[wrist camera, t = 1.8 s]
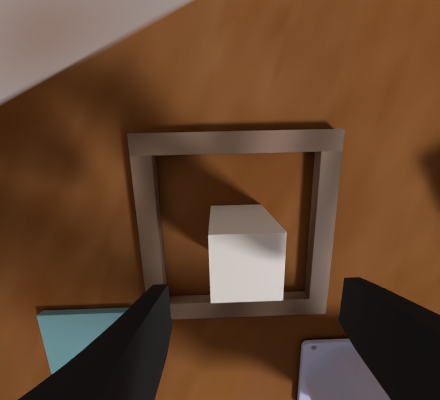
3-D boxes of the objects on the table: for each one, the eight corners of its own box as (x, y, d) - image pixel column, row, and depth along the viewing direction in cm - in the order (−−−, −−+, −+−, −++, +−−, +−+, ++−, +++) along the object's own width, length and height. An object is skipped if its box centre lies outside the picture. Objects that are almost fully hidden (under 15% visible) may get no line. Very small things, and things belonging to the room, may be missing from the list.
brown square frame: (336, 130, 15) (344, 128, 14) (319, 305, 18) (325, 313, 17) (132, 134, 15) (126, 133, 14) (152, 311, 18) (148, 320, 17)
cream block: (260, 204, 16) (286, 232, 10) (259, 250, 17) (283, 300, 11) (210, 205, 16) (208, 234, 10) (212, 252, 17) (210, 303, 11)
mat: (134, 307, 18) (131, 312, 17) (144, 378, 20) (141, 385, 19) (42, 310, 18) (36, 315, 17) (60, 382, 20) (55, 389, 19)
